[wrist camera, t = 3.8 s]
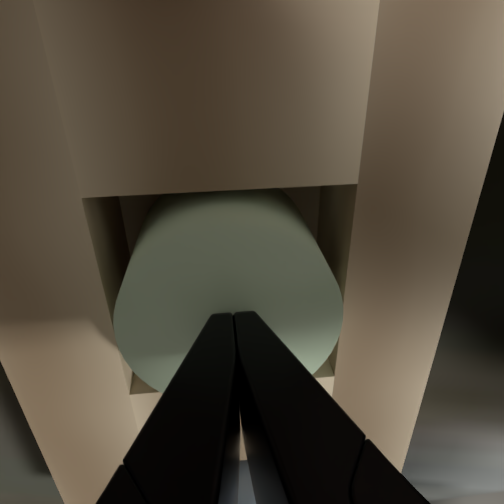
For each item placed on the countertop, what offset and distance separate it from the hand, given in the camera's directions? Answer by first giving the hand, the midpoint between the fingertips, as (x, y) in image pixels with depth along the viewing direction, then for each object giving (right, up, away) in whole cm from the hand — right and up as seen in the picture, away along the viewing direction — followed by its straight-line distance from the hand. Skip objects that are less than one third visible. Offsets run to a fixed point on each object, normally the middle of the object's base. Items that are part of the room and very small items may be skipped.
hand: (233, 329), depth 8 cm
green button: (0, +2, +3) cm, 3 cm away
